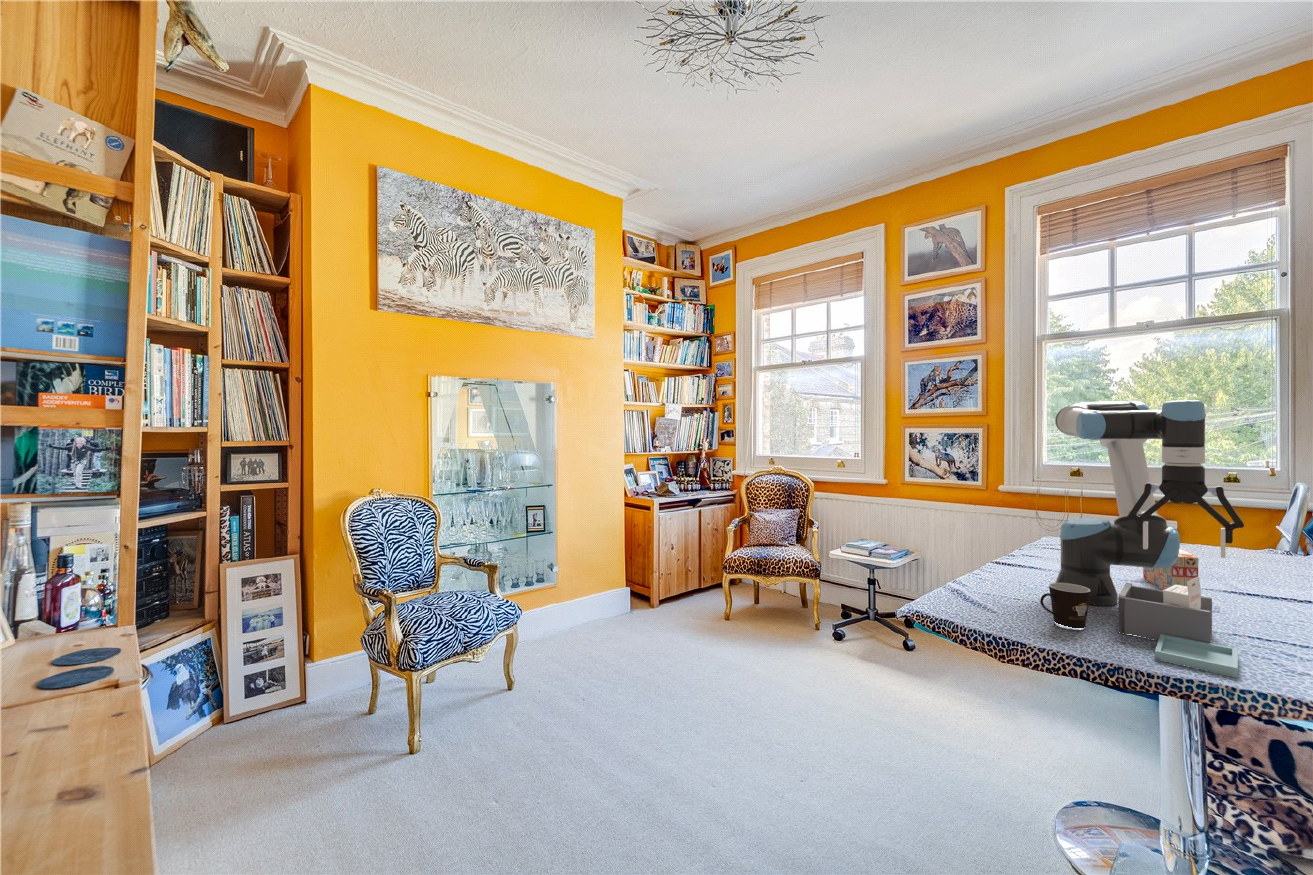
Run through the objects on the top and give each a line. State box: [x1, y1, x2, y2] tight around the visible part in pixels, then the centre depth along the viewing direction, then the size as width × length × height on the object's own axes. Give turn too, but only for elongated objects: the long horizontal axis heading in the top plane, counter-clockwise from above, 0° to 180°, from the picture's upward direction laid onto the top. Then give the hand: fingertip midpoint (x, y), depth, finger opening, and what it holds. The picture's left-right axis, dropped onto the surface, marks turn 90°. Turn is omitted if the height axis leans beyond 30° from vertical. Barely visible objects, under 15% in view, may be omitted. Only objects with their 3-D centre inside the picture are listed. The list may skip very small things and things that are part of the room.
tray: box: [1154, 634, 1239, 679], centre depth 123 cm, size 13×14×2 cm
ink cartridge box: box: [1163, 576, 1202, 609], centre depth 135 cm, size 9×5×15 cm, turn 122°
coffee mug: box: [1039, 582, 1091, 628], centre depth 144 cm, size 12×9×10 cm
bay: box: [1117, 582, 1213, 644], centre depth 137 cm, size 16×14×10 cm
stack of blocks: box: [1142, 548, 1199, 590], centre depth 174 cm, size 21×6×12 cm, turn 157°
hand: (1182, 552), depth 134 cm, fingers open, 13 cm apart
